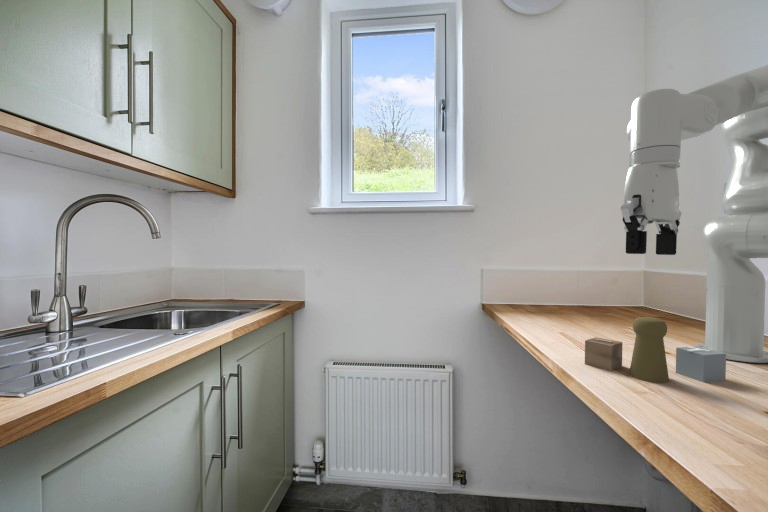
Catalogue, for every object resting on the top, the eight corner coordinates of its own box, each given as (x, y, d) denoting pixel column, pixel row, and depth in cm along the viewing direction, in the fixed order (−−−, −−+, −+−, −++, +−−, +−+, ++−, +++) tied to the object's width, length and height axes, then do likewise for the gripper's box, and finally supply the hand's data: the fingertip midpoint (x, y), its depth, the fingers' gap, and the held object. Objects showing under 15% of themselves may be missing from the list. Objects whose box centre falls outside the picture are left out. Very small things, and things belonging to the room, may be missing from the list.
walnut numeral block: (595, 360, 78) (596, 336, 78) (621, 366, 74) (622, 341, 74) (584, 364, 75) (585, 339, 75) (611, 371, 71) (611, 344, 71)
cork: (676, 383, 64) (678, 321, 64) (638, 381, 65) (639, 320, 65) (658, 372, 70) (659, 315, 70) (623, 370, 71) (624, 314, 71)
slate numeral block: (696, 371, 71) (697, 345, 71) (725, 380, 66) (726, 352, 66) (674, 373, 70) (675, 346, 70) (702, 382, 65) (702, 353, 65)
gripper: (657, 170, 74) (655, 254, 74) (604, 159, 66) (601, 253, 67) (703, 163, 67) (700, 255, 67) (649, 149, 60) (645, 253, 60)
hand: (651, 254), depth 67 cm, fingers open, 9 cm apart
